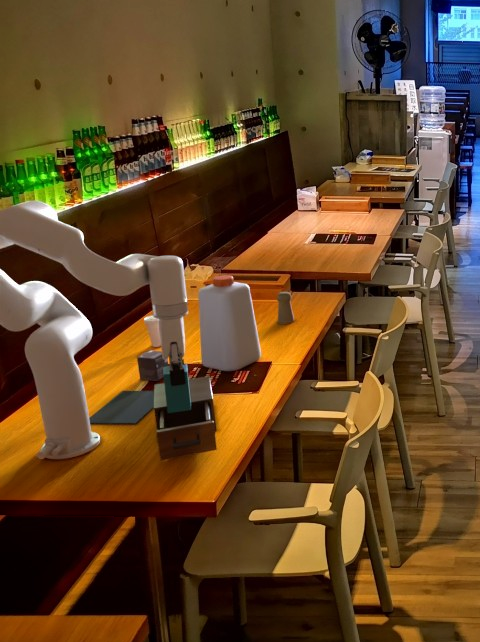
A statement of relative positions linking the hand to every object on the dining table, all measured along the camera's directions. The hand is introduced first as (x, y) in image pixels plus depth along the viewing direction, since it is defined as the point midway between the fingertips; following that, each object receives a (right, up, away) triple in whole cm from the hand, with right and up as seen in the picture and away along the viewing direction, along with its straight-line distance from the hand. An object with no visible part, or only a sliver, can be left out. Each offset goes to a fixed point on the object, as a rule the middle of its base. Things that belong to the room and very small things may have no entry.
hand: (178, 379), depth 175 cm
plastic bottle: (-7, -2, +55) cm, 56 cm away
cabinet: (-4, -14, +15) cm, 20 cm away
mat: (-24, -11, +24) cm, 36 cm away
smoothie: (-38, +2, +70) cm, 80 cm away
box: (-27, -6, +44) cm, 52 cm away
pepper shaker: (-2, +8, +94) cm, 94 cm away
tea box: (0, -7, +2) cm, 7 cm away
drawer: (+2, -16, +2) cm, 16 cm away
